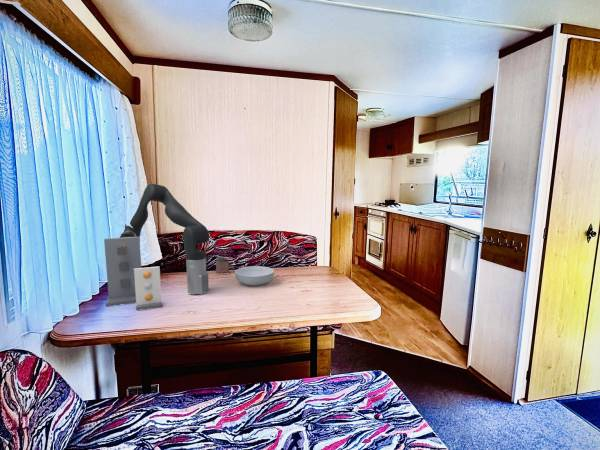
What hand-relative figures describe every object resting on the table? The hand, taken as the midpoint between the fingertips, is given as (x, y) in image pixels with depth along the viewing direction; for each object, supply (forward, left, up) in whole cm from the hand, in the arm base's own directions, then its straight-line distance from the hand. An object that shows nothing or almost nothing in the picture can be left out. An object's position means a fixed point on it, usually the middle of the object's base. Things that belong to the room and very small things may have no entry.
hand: (125, 244), depth 158 cm
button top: (-8, +9, -2) cm, 12 cm away
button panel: (-7, +8, -24) cm, 26 cm away
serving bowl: (-54, -32, -24) cm, 67 cm away
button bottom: (-6, +7, -18) cm, 20 cm away
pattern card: (-24, +12, -24) cm, 36 cm away
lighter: (-28, -43, -24) cm, 57 cm away
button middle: (-6, +7, -10) cm, 13 cm away
